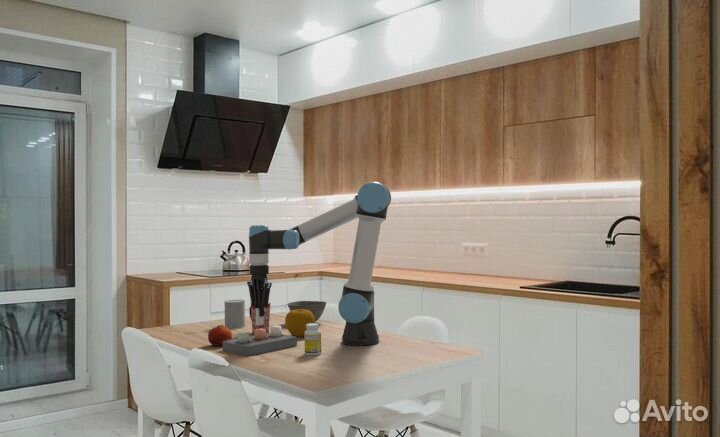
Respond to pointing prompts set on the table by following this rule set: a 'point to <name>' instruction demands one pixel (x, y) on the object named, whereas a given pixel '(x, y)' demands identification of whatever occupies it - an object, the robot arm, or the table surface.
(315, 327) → the pill bottle
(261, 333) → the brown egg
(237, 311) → the grey stone cylinder
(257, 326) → the mug
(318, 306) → the bowl
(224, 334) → the tomato
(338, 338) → the table surface
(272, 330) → the button cream
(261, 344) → the panel
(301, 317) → the apple
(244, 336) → the button sage
